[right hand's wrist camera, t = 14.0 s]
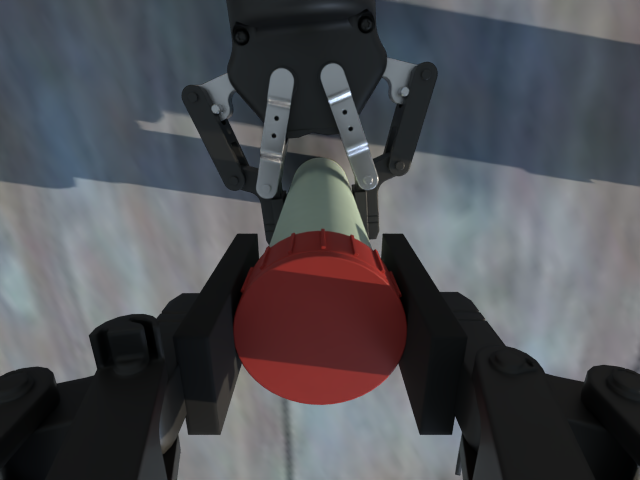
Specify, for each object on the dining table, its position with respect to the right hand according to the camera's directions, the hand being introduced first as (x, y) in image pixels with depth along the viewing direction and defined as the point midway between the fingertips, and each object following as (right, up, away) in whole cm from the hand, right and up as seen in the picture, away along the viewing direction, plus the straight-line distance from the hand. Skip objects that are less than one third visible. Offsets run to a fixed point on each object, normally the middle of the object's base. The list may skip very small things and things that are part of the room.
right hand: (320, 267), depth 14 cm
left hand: (0, +1, +10) cm, 10 cm away
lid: (0, -1, -4) cm, 4 cm away
